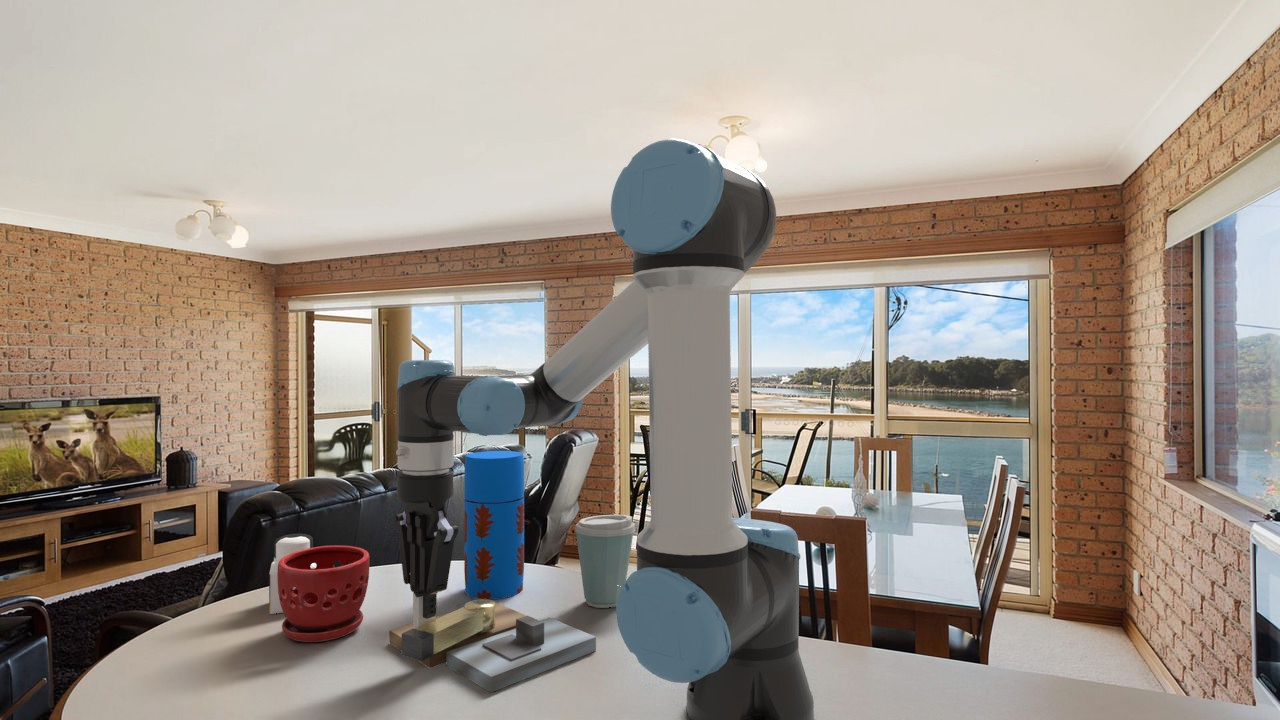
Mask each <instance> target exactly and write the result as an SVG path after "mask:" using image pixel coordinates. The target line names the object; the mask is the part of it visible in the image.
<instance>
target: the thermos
mask: <svg viewBox="0 0 1280 720" xmlns="http://www.w3.org/2000/svg"><path fill="white" fill-rule="evenodd" d="M524 459H525V458H524V453H523V452H519V451H513V450H509V451H508V450H490V451H489V450H488V451H487V450H486V451H477V452H471V453H467V454H466V455H465V459H464V465H463V467H464V479H463V480H464V487H463V488H464V489H463V491H464V504H463V505H464V511H463V512H464V516H463V517H464V519H463V520H464V524H463V525H464V532H463V533H464V537H463V539H464V541H463V542H464V543H463V544H464V546H463V547H464V554H463V556H464V557H463V558H464V569H463V570H464V586H465V587H464V589H465V593H466V595H467V596H468V597H470V598H474V599H477V600H479V599H488V600H498V599H505V598H510V597H514V596H516V595H518V594H520V593H521V592H522V591H523V590H524V576H525V575H524V574H525V573H524V571H525V460H524Z"/></svg>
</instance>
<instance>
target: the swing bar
mask: <svg viewBox="0 0 1280 720" xmlns="http://www.w3.org/2000/svg"><path fill="white" fill-rule="evenodd" d="M495 602H496V601H494V600H493V599H474V600H470V601H467V602H465V604H464V606H463V607H460V608H457V609H456V610H454V611H451V613H450V612H448V613H449V614H447V613H446V614H447V615H444V616H442V617H440V618H438V619H436V620H433V621H431V622H429V623H426V624H424V625H422V626H420V627H417V628H415V629H411V630H409V631H406V632H404V633H402V651H401V656H402V657H406V658H410V659H413V660H415V659H416V660H415V661H417V660H420V661H424V660H426V659H428V658H430V657H432V656H434V654H436V653H438V652H440V651H442V650H444V649H446V648H448V647H450V646H452V645H454V644H456V643H458V642H460V641H462V640H464V639H466V638H468V637H470V636H472V635H474V634H476V633H483V632H487V631H490V630H492V629H494V628H495Z"/></svg>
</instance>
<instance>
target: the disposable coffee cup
mask: <svg viewBox="0 0 1280 720" xmlns="http://www.w3.org/2000/svg"><path fill="white" fill-rule="evenodd" d="M574 531H575V534H576V543H577V551H578V558H579V565H580V573H581V579H582V587H583V596H584V599H585V602H586V604H587V605H588V606H590V607H593V608H598V609H609V607H611V608H616V602H617V597H618V594H619V591H620V589H621V587H622V585H623V584H625V582H626V580H627V579H628V570H629V566H630V565H629V564H630V556H631V550H632V544H633V538H634V537H633V536H634V532H635V531H636V524H635V522H633V516H631V515H629V514H628V515H627V514H603V515H602V514H601V515H594V516H588V517H587V516H586V517H585V518H581V519H580V520H579V521H577V523H576V524H575V529H574ZM617 585H619V586H617ZM620 586H621V587H620Z"/></svg>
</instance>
